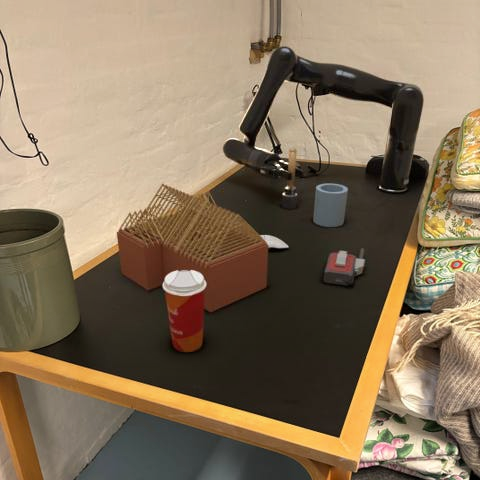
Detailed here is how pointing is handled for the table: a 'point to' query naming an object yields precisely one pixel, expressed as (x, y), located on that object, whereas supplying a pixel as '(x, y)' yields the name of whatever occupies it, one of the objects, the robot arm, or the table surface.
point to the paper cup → (185, 308)
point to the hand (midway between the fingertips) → (297, 175)
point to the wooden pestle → (290, 183)
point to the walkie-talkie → (343, 268)
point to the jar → (330, 205)
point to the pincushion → (273, 241)
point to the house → (194, 248)
